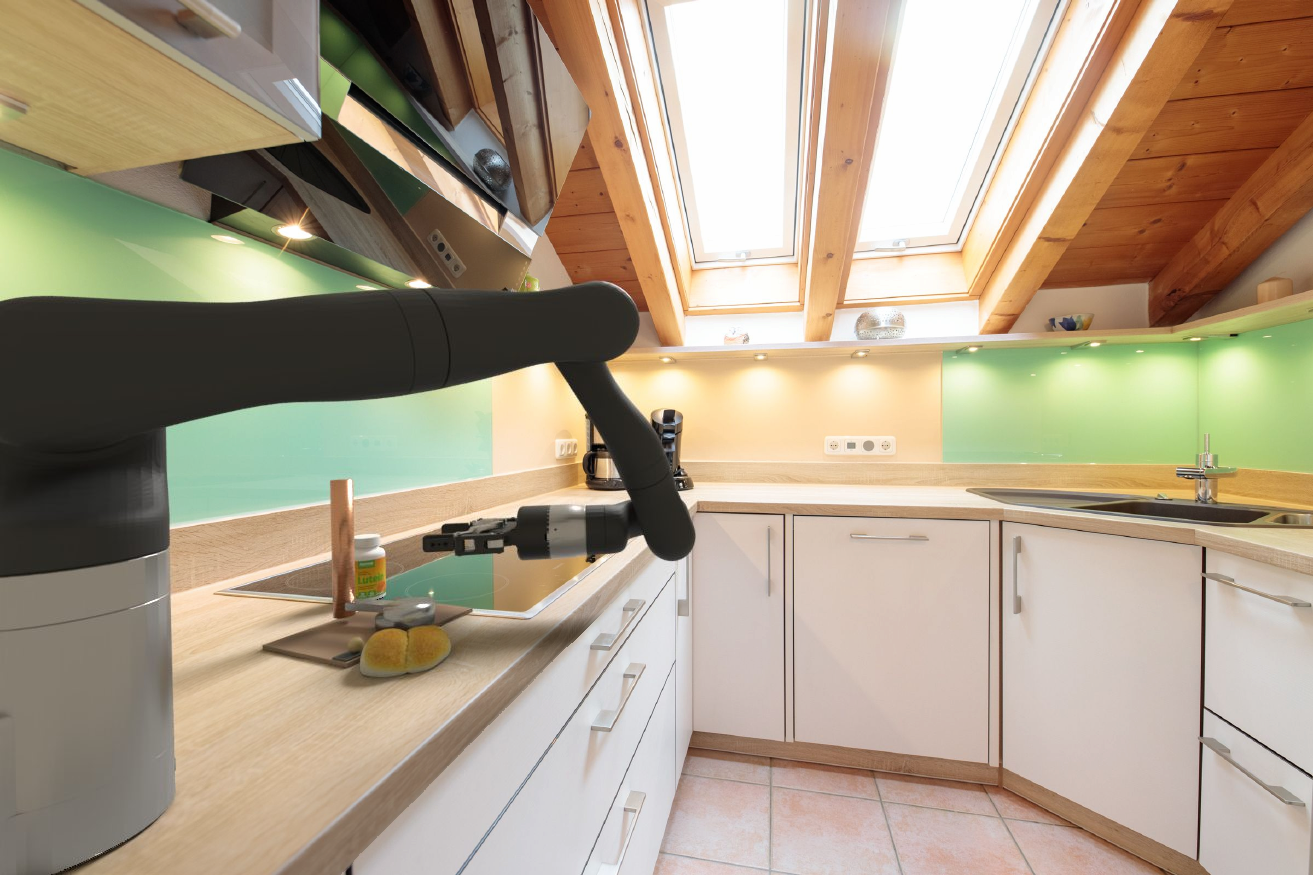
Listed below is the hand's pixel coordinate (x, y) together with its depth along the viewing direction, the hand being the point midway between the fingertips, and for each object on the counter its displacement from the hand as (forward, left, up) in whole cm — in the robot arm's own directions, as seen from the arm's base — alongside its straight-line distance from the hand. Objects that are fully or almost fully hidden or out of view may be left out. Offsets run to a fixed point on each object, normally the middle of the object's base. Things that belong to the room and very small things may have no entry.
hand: (433, 537), depth 71 cm
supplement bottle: (+3, +17, -11) cm, 21 cm away
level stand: (-6, +4, -11) cm, 13 cm away
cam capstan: (-5, +4, -10) cm, 12 cm away
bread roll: (-12, -8, -12) cm, 18 cm away
